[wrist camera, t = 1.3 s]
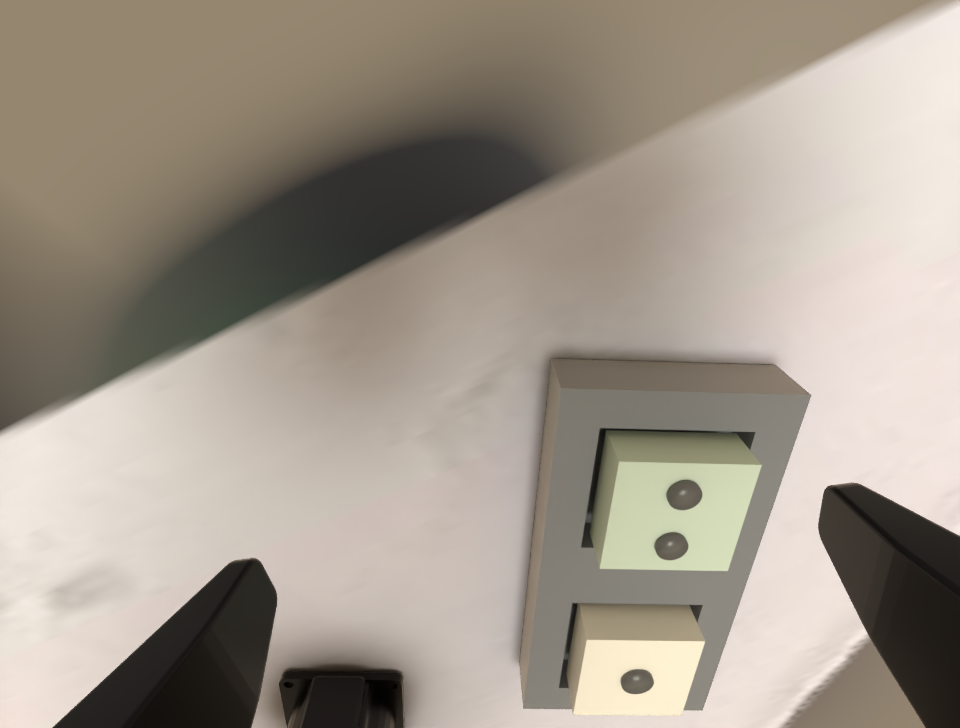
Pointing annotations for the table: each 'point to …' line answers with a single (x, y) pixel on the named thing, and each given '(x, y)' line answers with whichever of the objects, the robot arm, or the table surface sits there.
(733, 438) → the sage tile two
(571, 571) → the panel
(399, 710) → the robot arm
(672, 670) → the cream tile one
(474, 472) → the table surface
